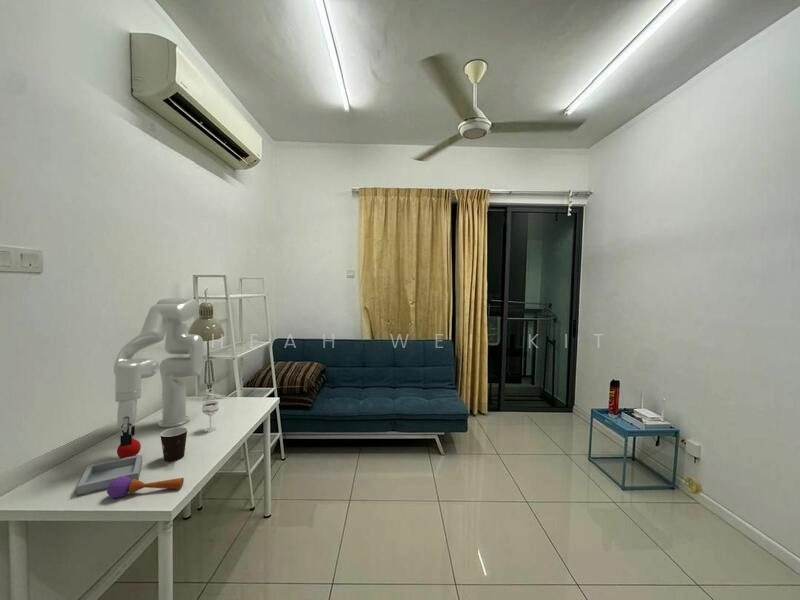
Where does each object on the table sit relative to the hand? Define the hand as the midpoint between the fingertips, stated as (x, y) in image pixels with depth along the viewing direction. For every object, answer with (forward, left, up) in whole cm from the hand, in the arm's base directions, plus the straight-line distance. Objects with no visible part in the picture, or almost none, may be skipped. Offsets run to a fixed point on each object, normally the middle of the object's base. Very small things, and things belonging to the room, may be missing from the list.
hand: (127, 440), depth 127 cm
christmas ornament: (-1, 0, -7) cm, 7 cm away
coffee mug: (+9, +14, -7) cm, 19 cm away
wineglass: (-15, +28, -7) cm, 33 cm away
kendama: (+29, +7, -8) cm, 31 cm away
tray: (+13, -3, -7) cm, 15 cm away
